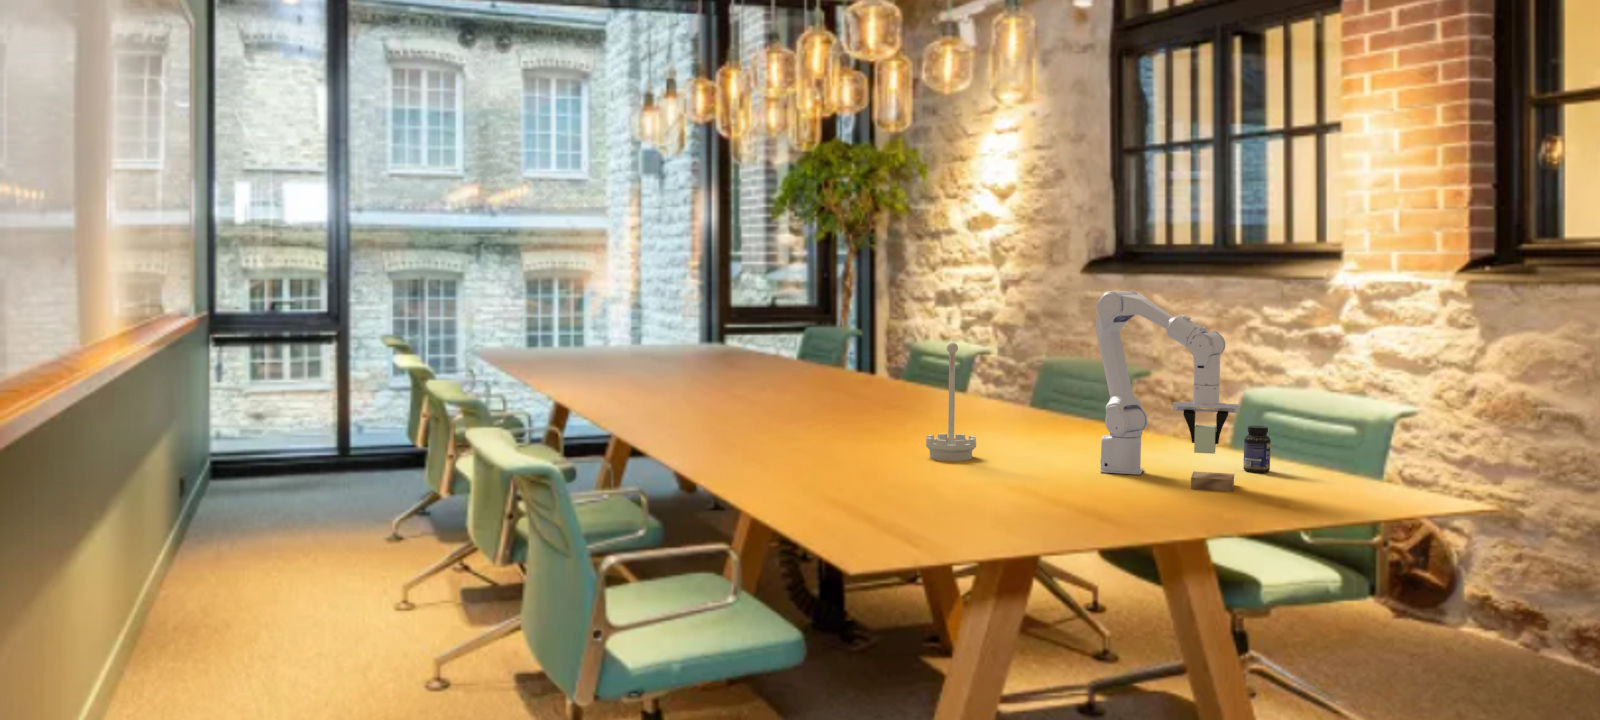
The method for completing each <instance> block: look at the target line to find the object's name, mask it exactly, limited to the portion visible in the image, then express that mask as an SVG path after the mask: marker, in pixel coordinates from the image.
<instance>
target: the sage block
mask: <svg viewBox="0 0 1600 720" xmlns="http://www.w3.org/2000/svg"><path fill="white" fill-rule="evenodd" d="M1215 437H1216V424H1215V425H1214V424H1195V440H1194V443H1193V445H1194V446H1193V447H1194V448H1193V449H1194V450H1193V452H1194V454H1195V453H1196V454H1197V453H1198V454H1216V450H1217V449H1216V446H1217V444H1215Z"/></svg>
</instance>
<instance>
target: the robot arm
mask: <svg viewBox="0 0 1600 720" xmlns="http://www.w3.org/2000/svg"><path fill="white" fill-rule="evenodd" d="M1095 306H1096V310H1097V316H1096V322H1095V331H1096V337H1097V338H1096V339H1097V343H1098V347H1099V353H1100V356H1101V361H1102V366H1103V371H1104V375H1105V378H1106V384H1107V389H1108V394H1109V401H1107V404H1106V405H1105V407H1104V408H1105V413H1106V414H1105V419H1104V422H1105V423H1104V424H1105V428H1106V430H1107V431H1108V432H1109V434H1103V435H1102V437H1101V446H1100V447H1101V448H1100V471H1099V472H1100V473H1106V474H1107V473H1108V474H1122V475H1123V474H1124V475H1126V474H1127V475H1138V476H1139V475H1142V473H1143V471H1144V467H1141V465H1142V464H1141V463H1142V462H1141V461H1142V460H1141V458H1142V457H1141V456H1142V455H1141V453H1142V435H1143V431H1144V430H1145V429H1146V427H1147V426H1148V421H1149V419H1148V415H1147V412H1146V411H1145V410H1144V408H1143V407H1142V403H1141V400H1140V399H1139V398H1138V397H1137V396H1136V395H1135V394H1134V393H1133V388H1132V383H1131V379H1130V374H1129V368H1128V364H1127V361H1126V360H1127V359H1126V356H1125V352H1124V351H1125V350H1124V346H1123V342H1122V336H1121V333H1120V332H1121V330H1122V329H1123V327H1124V326H1125V324H1126V323H1127V322H1128V321H1130V320H1131V319H1133V318H1134V317H1135V316H1140V317H1142V318H1145V319H1146V320H1148V321H1150V322H1152V323H1154V324H1156V325H1158V326H1160V327H1162V328H1163V329H1165V331H1166V336H1168V338H1171V339H1172V340H1174V341H1175V342H1177V343H1178V344H1181V345H1182V346H1184V347H1186V348H1187V349H1189V351H1190V353H1191V355H1192V356H1193V392H1192V393H1193V397H1192V398H1193V399H1192V401H1174V402H1173V403H1172V411H1173V412H1178V411H1179V412H1183V413H1182V414H1183V417H1184V420H1185V421H1186V424H1187V426H1188V430H1189V433H1190V438H1191V444H1194V440H1195V425H1196V413H1197V412H1203V413H1205V412H1206V413H1207V412H1208V413H1216V414H1215V415H1216V416H1215V417H1216V419H1215V420H1216V423H1215V425H1216V437H1215V444H1216V445H1219V443H1220V435H1221V432H1222V431H1223V430H1222V429H1223V426H1224V424H1225V422H1226V420H1227V419H1228V417H1229V413H1231V414H1240V404H1239V403H1226V402H1225V403H1224V402H1220V384H1221V383H1220V382H1221V381H1220V380H1221V377H1220V376H1221V375H1220V374H1221V355H1222V354H1223V352H1224V351H1225V349H1226V340H1225V338H1224V336H1222V334H1220V333H1219V332H1218V331H1217V330H1216V331H1214V330H1213V331H1209V330H1208V328H1207V327H1206V326H1204V325H1202V326H1201V325H1198V324H1197V323H1195V322H1194V321H1191V319H1192V318H1191V317H1190V316H1189V315H1177V316H1173V315H1172V314H1170V313H1169V312H1167V311H1166V310H1164V309H1163V308H1161V307H1160V306H1159V305H1156V304H1155V303H1153V302H1152V301H1150V299H1148V298H1147V297H1146V296H1145V295H1143V294H1139V293H1138V292H1136V291H1135V290H1126V291H1122V290H1121V291H1113V290H1112V291H1111V290H1110V291H1108V290H1107V291H1105V292H1104V293H1102V294H1101V296H1100V298H1099V299H1098V300H1097V302H1096V304H1095Z"/></svg>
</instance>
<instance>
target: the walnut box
mask: <svg viewBox="0 0 1600 720" xmlns="http://www.w3.org/2000/svg"><path fill="white" fill-rule="evenodd" d="M1234 487H1235V473H1227V472H1213V471H1212V472H1209V471H1208V472H1207V471H1193V472H1192V474H1191V476H1190V490H1199V491H1201V490H1202V491H1211V492H1212V491H1215V492H1216V491H1217V492H1231V493H1232V492H1234V491H1233V490H1234Z"/></svg>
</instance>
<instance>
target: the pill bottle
mask: <svg viewBox="0 0 1600 720" xmlns="http://www.w3.org/2000/svg"><path fill="white" fill-rule="evenodd" d="M1247 432H1248V435H1245V436H1244V440H1243V442H1244V443H1243V470H1244V471H1246V472H1248V473H1257V474H1264V473H1265V474H1266V473H1269V472H1270V470H1271V469H1270V468H1271V438H1270V437H1269V436H1268V432H1269V427H1268V426H1265V425H1255V424H1254V425H1252V424H1251V425H1248V426H1247Z"/></svg>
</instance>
